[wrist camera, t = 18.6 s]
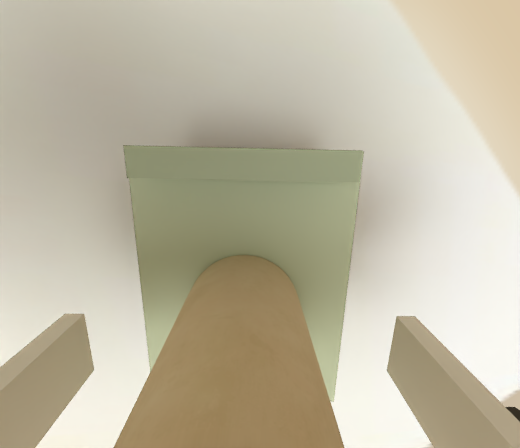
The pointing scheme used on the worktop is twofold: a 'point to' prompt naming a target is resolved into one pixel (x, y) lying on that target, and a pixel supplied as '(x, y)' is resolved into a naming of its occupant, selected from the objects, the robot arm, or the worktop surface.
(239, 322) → the candle
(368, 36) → the worktop surface
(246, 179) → the lid
